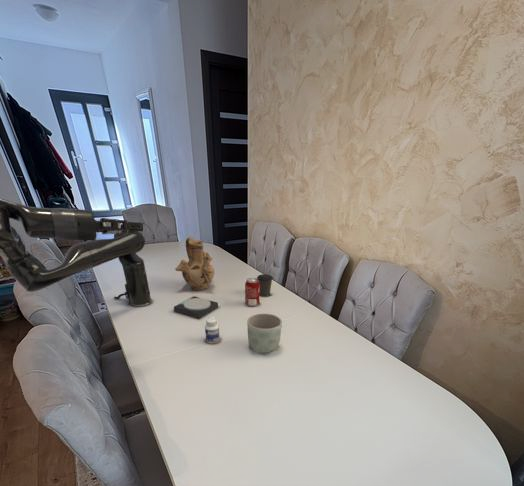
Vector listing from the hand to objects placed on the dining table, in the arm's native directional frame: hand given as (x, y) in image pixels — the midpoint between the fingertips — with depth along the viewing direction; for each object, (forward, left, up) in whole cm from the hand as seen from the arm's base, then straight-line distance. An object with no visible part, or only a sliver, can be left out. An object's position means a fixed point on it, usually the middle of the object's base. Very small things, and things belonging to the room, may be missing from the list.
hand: (138, 228), depth 88 cm
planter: (+36, +10, -42) cm, 57 cm away
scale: (+1, +36, -42) cm, 55 cm away
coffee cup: (+29, +60, -42) cm, 79 cm away
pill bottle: (+16, +11, -42) cm, 47 cm away
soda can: (+25, +47, -42) cm, 68 cm away
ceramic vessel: (-6, +61, -42) cm, 74 cm away
